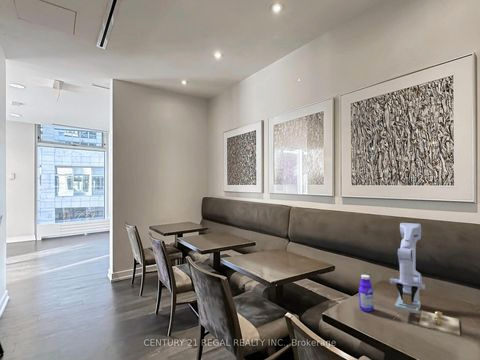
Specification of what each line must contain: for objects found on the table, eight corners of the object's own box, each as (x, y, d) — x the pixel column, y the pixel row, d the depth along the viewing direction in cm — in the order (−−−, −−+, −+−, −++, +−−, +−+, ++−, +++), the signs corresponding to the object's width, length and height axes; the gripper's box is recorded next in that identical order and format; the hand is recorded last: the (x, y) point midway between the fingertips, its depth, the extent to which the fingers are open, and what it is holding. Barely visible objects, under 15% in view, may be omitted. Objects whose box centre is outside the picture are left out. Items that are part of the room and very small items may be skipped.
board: (419, 325, 121) (419, 323, 122) (421, 312, 134) (421, 310, 134) (459, 335, 113) (459, 334, 113) (458, 320, 125) (458, 319, 125)
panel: (394, 307, 128) (394, 296, 128) (398, 298, 138) (398, 288, 138) (417, 312, 122) (417, 300, 122) (420, 303, 132) (419, 292, 133)
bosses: (434, 325, 120) (434, 319, 120) (435, 315, 129) (434, 310, 129) (442, 327, 118) (441, 321, 118) (442, 317, 127) (442, 312, 127)
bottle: (366, 313, 134) (365, 278, 134) (357, 308, 139) (356, 275, 140) (376, 310, 137) (375, 276, 138) (366, 305, 142) (365, 273, 143)
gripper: (388, 272, 132) (389, 299, 132) (423, 277, 123) (424, 307, 123) (390, 268, 138) (391, 294, 137) (424, 273, 129) (425, 302, 128)
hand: (407, 300), depth 130 cm, fingers closed on panel, 4 cm apart
